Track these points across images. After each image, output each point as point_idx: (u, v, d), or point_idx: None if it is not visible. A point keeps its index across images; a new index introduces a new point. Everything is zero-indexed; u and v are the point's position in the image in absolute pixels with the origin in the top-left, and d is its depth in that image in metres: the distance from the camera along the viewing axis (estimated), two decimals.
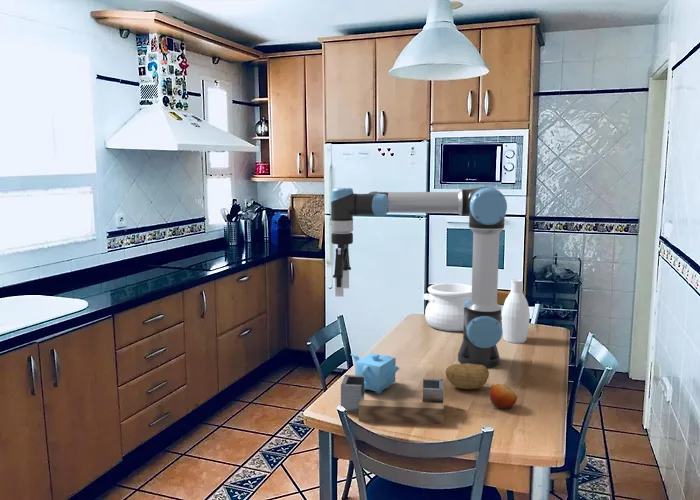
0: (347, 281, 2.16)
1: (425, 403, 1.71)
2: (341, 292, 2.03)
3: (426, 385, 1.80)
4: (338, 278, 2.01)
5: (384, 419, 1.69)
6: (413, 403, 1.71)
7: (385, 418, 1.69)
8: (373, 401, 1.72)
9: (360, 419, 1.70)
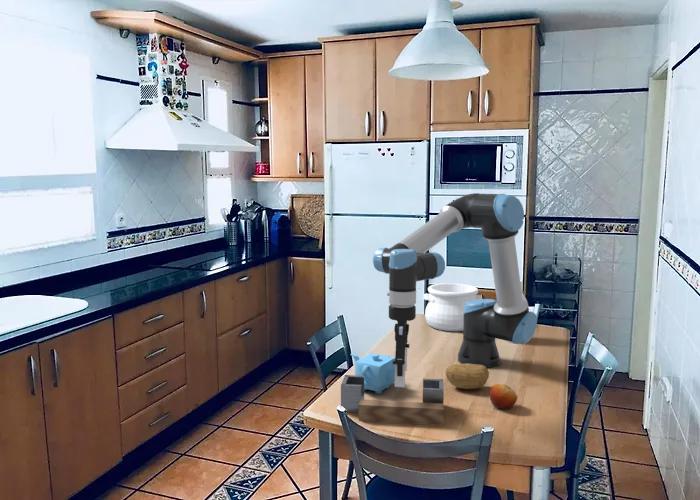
0: (405, 362, 1.75)
1: (425, 403, 1.70)
2: (402, 382, 1.62)
3: (426, 385, 1.80)
4: (399, 365, 1.60)
5: (384, 418, 1.69)
6: (413, 403, 1.70)
7: (385, 418, 1.69)
8: (373, 401, 1.72)
9: (360, 419, 1.70)
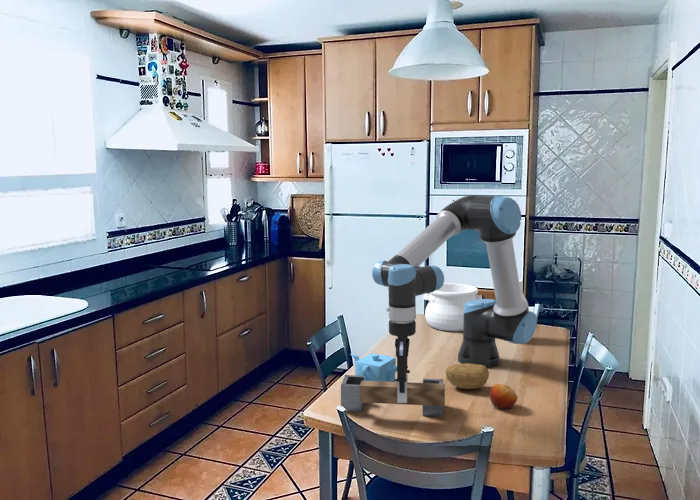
0: None
1: (426, 384, 1.70)
2: (404, 398, 1.67)
3: None
4: (401, 382, 1.65)
5: (385, 399, 1.69)
6: (414, 384, 1.70)
7: (386, 399, 1.69)
8: (374, 382, 1.72)
9: (361, 400, 1.70)
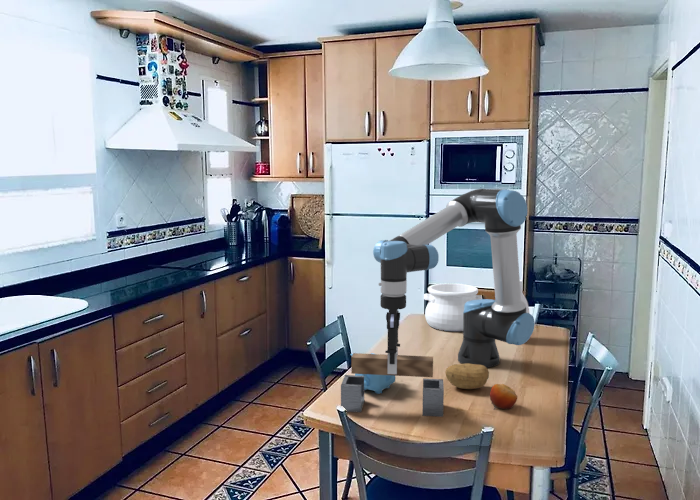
0: None
1: (415, 356, 1.77)
2: (394, 369, 1.74)
3: (426, 385, 1.80)
4: (391, 354, 1.73)
5: (376, 370, 1.76)
6: (404, 356, 1.77)
7: (376, 370, 1.76)
8: (365, 354, 1.79)
9: (353, 371, 1.77)
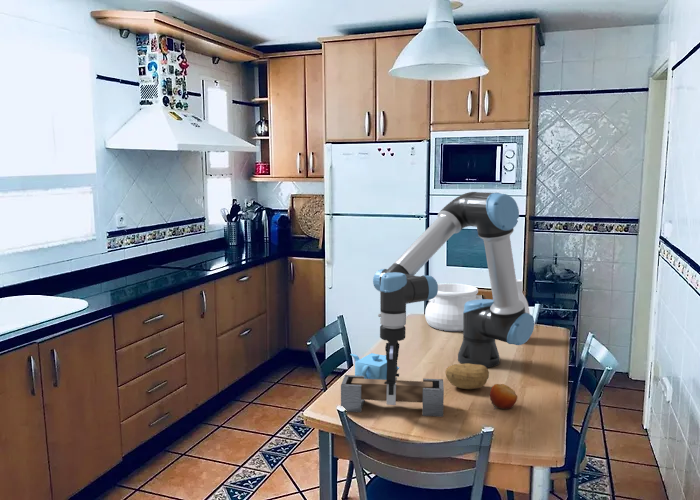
0: None
1: (415, 382, 1.78)
2: (393, 400, 1.76)
3: None
4: (390, 385, 1.74)
5: (376, 396, 1.77)
6: (403, 382, 1.78)
7: (376, 395, 1.77)
8: (365, 380, 1.80)
9: None
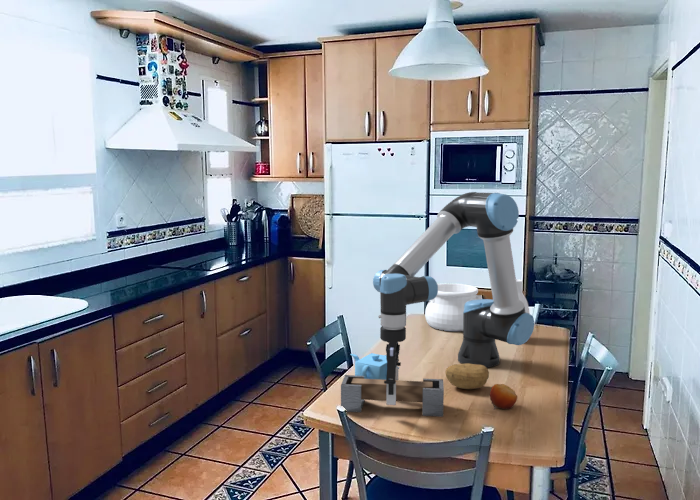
0: (396, 379, 1.84)
1: (415, 382, 1.78)
2: (393, 400, 1.71)
3: None
4: (390, 384, 1.69)
5: (376, 396, 1.77)
6: (403, 382, 1.78)
7: (376, 395, 1.77)
8: (365, 380, 1.80)
9: None
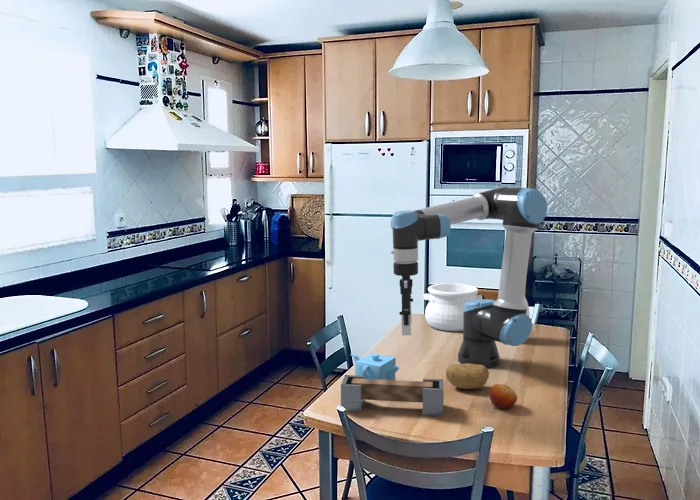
0: None
1: (415, 382, 1.78)
2: (409, 330, 1.78)
3: None
4: (405, 315, 1.76)
5: (376, 396, 1.77)
6: (403, 382, 1.78)
7: (376, 395, 1.77)
8: (365, 380, 1.80)
9: None
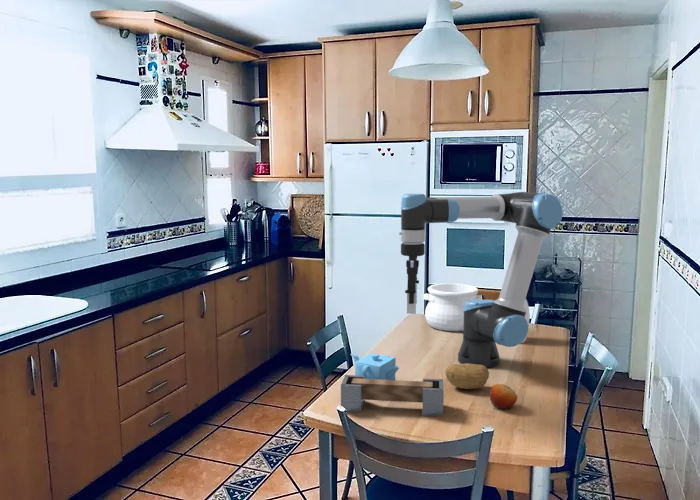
0: None
1: (415, 382, 1.78)
2: (413, 309, 1.84)
3: None
4: (411, 294, 1.82)
5: (376, 396, 1.77)
6: (403, 382, 1.78)
7: (376, 395, 1.77)
8: (365, 380, 1.80)
9: None
